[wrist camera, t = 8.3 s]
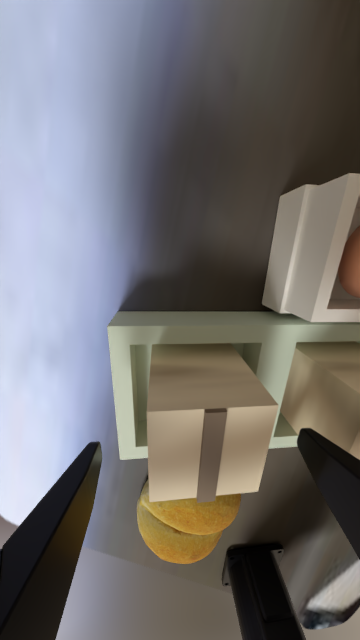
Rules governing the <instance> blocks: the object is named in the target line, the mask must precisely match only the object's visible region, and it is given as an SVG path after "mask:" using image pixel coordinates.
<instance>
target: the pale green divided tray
mask: <svg viewBox="0 0 360 640" xmlns="http://www.w3.org/2000/svg"><path fill="white" fill-rule="evenodd" d="M107 328H108V339H109V349H110V359H111V370H112V380H113V391H114V401H115V411H116V422H117V432H118V443H119V453H120V460H125V459H138V458H148V440H147V401H148V388H149V375H150V363H151V350H152V344H206V343H231V344H232V346H233V347H234V348H235V350H236V351H237V352H238V353H239V355H240V356H241V357H242V359H243V360H244V361H245V362H246V364H247V365H248V366H249V368H250V369H251V370H252V371H253V373H254V374H255V375H256V377H257V378H258V379H259V380H260V382H261V383H262V384H263V386H264V387H265V388H266V389H267V391H268V392H269V393H270V395H271V396H272V397H273V398H274V400H275V401H276V402H277V404H278V405H279V406H278V411H277V415H276V419H275V423H274V427H273V431H272V435H271V439H270V444H269V448H268V449H270V448H283V447H296V446H297V438H298V434H297V433H296V432H295V430H294V429H293V428H292V426H291V425H290V424H289V422H288V421H287V420H286V418H285V417H284V416H283V415H282V413H281V412H280V408H281V404H282V400H283V396H284V392H285V387H286V383H287V379H288V375H289V371H290V367H291V363H292V359H293V355H294V351H295V347H296V343H297V342H343V341H356V342H358V343H360V322H309V321H307V320H305V319H303V318H301V317H298V316H296V315H294V314H292V313H278V312H220V311H118V312H117V313H116V315H115V316H114V317H113V319H112V320H111V322H110V323H109V325H108V326H107Z"/></svg>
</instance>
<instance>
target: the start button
mask: <svg viewBox="0 0 360 640" xmlns="http://www.w3.org/2000/svg"><path fill="white" fill-rule="evenodd" d="M338 276H339V280H340V283H341V285H342V287H343V288H344V290H345V291H346V292H347V293H349V294H350V295H352V296H354V297H358V298H360V226H359V227H358V228H356V230H355V231H354V232H353V233H352V234H351V236H350V237H349V238H348V240H347V242H346V243H345V246H344V250H343V253H342V257H341V260H340V264H339V267H338Z"/></svg>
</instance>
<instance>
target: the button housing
mask: <svg viewBox="0 0 360 640" xmlns="http://www.w3.org/2000/svg"><path fill="white" fill-rule="evenodd" d="M359 226H360V174H356V173H349V174H346V175H344V176H341V177H339V178H336V179H334V180H332V181H329V182H327V183H324V184H322V185H310V184H305V185H303V186H301V187H299V188H297V189H295V190H292V191H290V192H288V193H286V194H284V195H281V196H280V200H279V205H278V211H277V217H276V223H275V229H274V235H273V241H272V246H271V252H270V258H269V264H268V270H267V276H266V282H265V287H264V293H263V299H262V304H263V305H265V306H266V307H268V308H270V309H272V310H274V311H276V312H278V313H292V314H294V315H296V316H298V317H301V318H303V319H305V320H307V321H309V322H360V298H358V297H354V296H352V295H350V294H349V293H347V292H346V291H345V290H344V288H343V287H342V285H341V283H340V280H339V276H338V267H339V264H340V260H341V257H342V253H343V250H344V246H345V243H346V242H347V240H348V238H349V237H350V236H351V234H352V233H353V232H354V231H355V230H356V228H358V227H359Z"/></svg>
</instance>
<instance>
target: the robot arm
mask: <svg viewBox="0 0 360 640" xmlns="http://www.w3.org/2000/svg"><path fill="white" fill-rule="evenodd" d="M297 446H298V448H299V450H300V452H301V454H302V456H303V459H304V461H305V463H306V465H307V467H308V469H309V471H310V473H311V475H312V477H313V479H314V481H315V483H316V485H317V487H318V489H319V490H320V492H321V494H322V496H323V497H324V499H325V501H326V502H327V504H328V506H329V508H330V509H331V511H332V513H333V514H334V516H335V518H336V520H337V521H338V523H339V525H340V526H341V528H342V530H343V532H344V533H345V535H346V537H347V538H348V540H349V542H350V544H351V545H352V547H353V549H354V551H355V552H356V554H357V556H358V557H359V559H360V460H359V459H357V458H356V457H354V456H353V455H351V454H350V453H348V452H347V451H345V450H344V449H342V448H341V447H339V446H338V445H336V444H334V443H333V442H331V441H330V440H328V439H327V438H325V437H324V436H322V435H321V434H319V433H318V432H316V431H315V430H313V429H311V428H301V429H300V432H299V435H298V438H297ZM101 462H102V451H101V444H100V442H90V443H89V444H88V445H87V446H86V447H85V448H84V449H83V451H82V452H81V453H80V454H79V455H78V457H77V458H76V459H75V460H74V461H73V463H72V464H71V465H70V466H69V467H68V468H67V470H66V471H65V472H64V473H63V474H62V476H61V477H60V478H59V479H58V480H57V482H56V483H55V484H54V485H53V486H52V488H51V489H50V490H49V491H48V492H47V494H46V495H45V496H44V497H43V498H42V500H41V501H40V502H39V503H38V504H37V506H36V507H35V508H34V509H33V510H32V512H31V513H30V514H29V515H28V516H27V518H26V519H25V520H24V521H23V522H22V524H21V525H20V526H19V527H18V528H17V530H16V531H15V532H14V533H13V534H12V535H11V537H10V538H9V539H8V540H7V541H6V543H5V544H4V545H3V547H2V549H0V640H55V639H56V636H57V632H58V629H59V625H60V622H61V618H62V615H63V611H64V607H65V604H66V601H67V597H68V594H69V589H70V586H71V583H72V579H73V576H74V572H75V568H76V565H77V562H78V558H79V555H80V551H81V548H82V544H83V541H84V537H85V534H86V530H87V527H88V523H89V520H90V516H91V512H92V509H93V504H94V499H95V494H96V489H97V484H98V478H99V473H100V468H101ZM283 553H284V549H283V546H282V545H281V544H278V545H270V546H262V547H254V548H247V549H239V550H231V551H228V552H227V554H226V559H225V564H224V569H223V575H222V584H223V586H231V589H232V593H233V598H234V602H235V607H236V612H237V616H238V621H239V626H240V630H241V635H242V640H306V638H305V635H304V633H303V630H302V627H301V625H300V622H299V619H298V617H297V614H296V611H295V609H294V606H293V603H292V601H291V598H290V596H289V593H288V590H287V588H286V585H285V582H284V580H283V577H282V574H281V572H280V569H279V564H280V561H281V559H282V556H283Z"/></svg>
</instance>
